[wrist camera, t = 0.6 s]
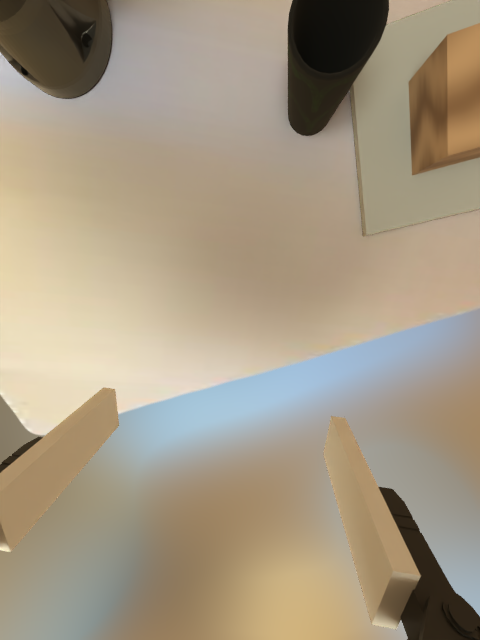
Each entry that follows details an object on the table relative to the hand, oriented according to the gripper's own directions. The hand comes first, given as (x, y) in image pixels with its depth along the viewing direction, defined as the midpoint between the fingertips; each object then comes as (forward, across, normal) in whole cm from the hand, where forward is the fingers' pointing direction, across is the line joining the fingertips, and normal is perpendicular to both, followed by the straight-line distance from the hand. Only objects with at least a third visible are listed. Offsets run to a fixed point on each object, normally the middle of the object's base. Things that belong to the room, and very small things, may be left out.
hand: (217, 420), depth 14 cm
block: (+24, +23, +27) cm, 43 cm away
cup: (+26, +6, +28) cm, 38 cm away
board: (+25, +23, +27) cm, 43 cm away
